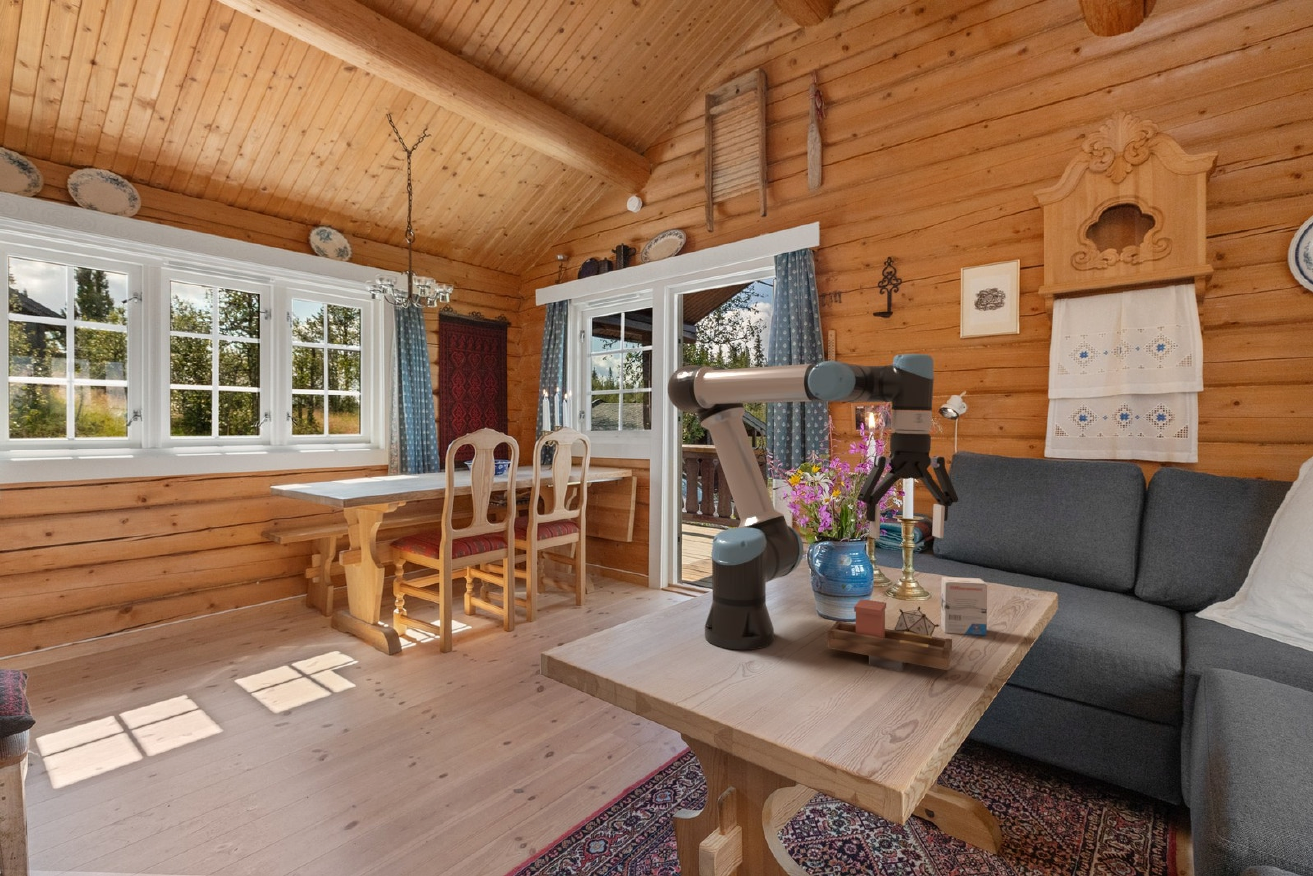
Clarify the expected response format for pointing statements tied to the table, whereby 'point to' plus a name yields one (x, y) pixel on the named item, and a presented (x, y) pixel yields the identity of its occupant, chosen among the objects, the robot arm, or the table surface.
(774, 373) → the robot arm
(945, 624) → the ink box
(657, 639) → the table surface
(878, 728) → the table surface
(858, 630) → the red lidded box
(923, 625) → the game die
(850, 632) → the brown long open box
